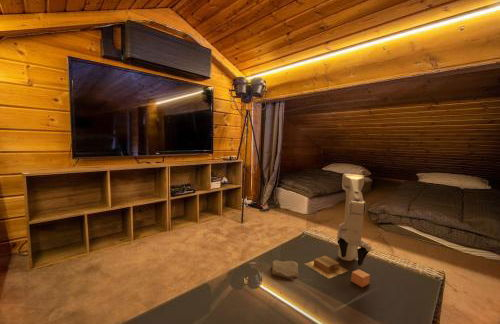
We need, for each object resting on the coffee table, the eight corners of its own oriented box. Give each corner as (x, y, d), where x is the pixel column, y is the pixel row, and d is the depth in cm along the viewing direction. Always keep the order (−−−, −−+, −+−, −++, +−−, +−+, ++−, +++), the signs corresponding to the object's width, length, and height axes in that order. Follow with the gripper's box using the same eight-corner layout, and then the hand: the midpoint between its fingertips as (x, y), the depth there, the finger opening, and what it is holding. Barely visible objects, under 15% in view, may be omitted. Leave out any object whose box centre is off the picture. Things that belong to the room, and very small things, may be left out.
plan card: (345, 285, 97) (345, 284, 97) (361, 294, 91) (361, 293, 91) (336, 289, 94) (336, 288, 94) (352, 299, 88) (352, 298, 88)
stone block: (299, 284, 99) (297, 268, 109) (300, 275, 98) (298, 259, 107) (271, 282, 100) (271, 266, 110) (271, 272, 99) (272, 257, 109)
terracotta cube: (357, 280, 102) (358, 269, 102) (368, 286, 98) (370, 274, 97) (350, 283, 99) (351, 271, 99) (361, 289, 95) (363, 278, 95)
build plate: (323, 259, 119) (323, 257, 119) (348, 272, 107) (348, 270, 107) (304, 265, 111) (304, 263, 111) (328, 281, 100) (328, 278, 100)
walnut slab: (324, 261, 115) (325, 255, 115) (338, 269, 108) (339, 262, 108) (313, 265, 110) (314, 259, 110) (327, 273, 104) (328, 267, 103)
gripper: (333, 224, 102) (331, 255, 103) (365, 237, 90) (362, 271, 91) (343, 222, 106) (341, 252, 107) (375, 234, 94) (372, 266, 95)
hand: (351, 260), depth 99 cm, fingers open, 7 cm apart
